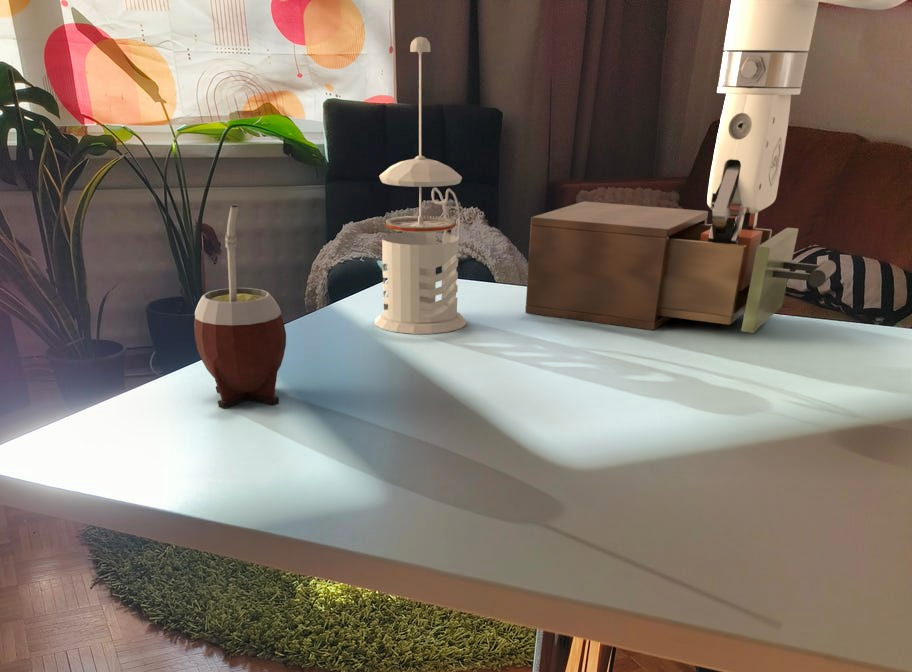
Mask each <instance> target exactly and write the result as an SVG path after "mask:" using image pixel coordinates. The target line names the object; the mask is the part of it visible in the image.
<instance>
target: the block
mask: <svg viewBox="0 0 912 672" xmlns="http://www.w3.org/2000/svg"><path fill="white" fill-rule="evenodd" d="M733 229H734V228H733ZM709 233H710V229H709V230H707V231H705V232H703V233H701V238H700V241H705V242H708V238H709ZM762 233H763V231H757V230H746V229H741V233H740V237H739V241H738V245H746V251H745V256H744V262H743V267H742V272H741V278H740V283H739V289H738V291H742V290H743V289H744V288H746V287H747V286H748V285H750V283H751V277H752V272H753V267H754V262H755V256H756V251H757V247H758V246H759V245H760V243H761V238H762Z"/></svg>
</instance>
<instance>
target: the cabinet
mask: <svg viewBox="0 0 912 672" xmlns="http://www.w3.org/2000/svg"><path fill="white" fill-rule="evenodd" d="M708 215H709V211H708V210H699V209H698V210H697V209H687V208H685V209H684V208H672V207H662V206H661V207H659V206H646V205H633V204H623V203H622V204H621V203H608V202H597V201H581V202H578V203H574V204H571V205H567V206H565V207H560V208H558V209H557V208H556V209H554V210H551V211H548V212H544V213H541V214H538V215H534V216H531V218H530V229H529V230H530V232H529V246H528V247H529V248H528V265H527V278H526V279H527V282H526V298H525V309H524V310H525V313H526V314H532V315H541V316H545V317H546V316H548V317H553V318H554V317H555V318H561V319H568V320H569V319H570V320H575V321H576V320H577V321H584V322H592V323H597V324H598V323H599V324H605V325H612V326H620V327H626V328H634V329H642V330H648V331H655V330H656V329H658V328H659V327H660V326H663V324H665V323H666V322H668V321H670V320H671V319H672V318H673V317H666V316H658V310H659V303H660V296H661V288H662V281H663V274H664V267H665V260H666V253H667V246H668V239H669V238H668V237H669V236H671V235H673V234H675V233H678V232H680V231H682V230H684V229H686V228H688V227H691V226H693V225H695V224H697V223H700V224H708V223H707V222H708Z"/></svg>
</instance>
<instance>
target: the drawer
mask: <svg viewBox="0 0 912 672" xmlns="http://www.w3.org/2000/svg"><path fill="white" fill-rule="evenodd" d="M711 225H712V224H710V223H706V224H700V223H697V224H695V225H693V226H691V227H688V228H686V229H684V230H682V231H680V232H678V233H675V234H673V235H671V236H669V237H668V238H669V239H668V246H667V253H666V260H665V267H664V274H663V281H662V288H661V296H660V303H659V310H658V316H666V317H672V318H676V319H682V320H683V319H684V320H690V321H698V322H705V323H713V324H720V325H729V326H730V325H732V324H733V323H734V322H736V321H737V320H738V319H739V318H740V317H741V316H742V315H743V319H742V326H741V332H745V333H751V334H754V333H755V332H756V331H757V330H758V329H759V328H760V327H761V326H762V325H764V324H765V322H767V321H768V320H769V319H770V318H771V317H772V316H773V315H774V314H775V313H777V312H778V311H779V310H780V308H782V307H783V304H784V301H785V295H786V290H787V284H788V280H796V281H807V282H808V284H809V285H810V287H812V288H820V287H822V286H823V285H824V284H825V283H826V282H827V281H828V280H829V279H830V278H831V277H832V276H833V275H834V274H835V272H836V270H837V265H836V263H835V261H834V260H831V259H827V260H823V262H821V263H820V264H814V263H803V262H795V261H793V257H794V252H795V247H796V244H797V238H798V233H799V228H798V227H797V228H795V227H786V228H784V229H782V230H781V231H780V232H778V233H777V234H774V236H772V234H773V233H772V232H773V230H772V228H771V229H770V228H757V227H756V230H757V231H763V233H762V238H761V243H760V245H759V246H758V247H757V251H756V256H755V262H754V267H753V272H752V277H751V283H750V285H748V286H747V287H746V288H744V289H743V290H742V291H738V289H739V283H740V278H741V272H742V267H743V262H744V256H745V251H746V245H738V244H727V243H716V242H705V241H700V238H701V233H703V232H705V231H707V230H709V229H711ZM791 270H794V271H791ZM800 271H804V272H800Z"/></svg>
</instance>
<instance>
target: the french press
mask: <svg viewBox="0 0 912 672" xmlns="http://www.w3.org/2000/svg"><path fill="white" fill-rule="evenodd" d="M410 52H411V53H417V54H418V155H417V156H415V157H414V158H411V159H406V160H402V161H398V162H397V163H394V164H392V165H391V166H389V167H388V168H387V169H386V170H384V171H383V172H382V173H380V175H379V176H378V177H379V180H380V182H381V183H382V184H385V185H389V186H398V187H413V188H415V187H418V190H419V191H418V193H419V194H418V196H419V198H418V199H419V200H418V202H419V205H418V211H419V215H417V216H416V215H403V216H394V217H391V218H387V219H386V220H385V221H384V224H385V227H386V228H387V229H391V230H394V231H396V233H391V234H387V235H384V236H382V238H381V239H382V241H381V242H382V243H381V244H382V246H381V247H382V248H381V250H382V257H381V258H382V278H383V279H382V289H383V293H382V294H383V311H382V312H380V313H379V315H378V316H377V317H376V318H375V319H374V326H375V327H376V326H377V328H380V329H381V330H385V331H390V332H393V333H400V334H410V335H411V334H412V335H428V334H429V335H433V334H442V333H447V332H448V333H449V332H452V331H456V330H460V329H462V328H464V327H465V326H466V325H467V324H468V323H467V321H466V319H465V318H464V316H463V315H462V314H461V313H460V312H459V311H458V297H457V293H458V291H459V290H458V289H459V288H458V284H457V281H458V279H459V272H458V271H457V268H458V266H459V257H458V253H459V241H460V235H461V212H460V211H461V210H460V206H459V201H458V198H457V196H456V193H455V192H454V191H453V190H452V189H451V188H447V189H446V191H445V199H444V197H443V194H442V192H441V191H440V190H439V188H437V187H448V186H456V185H458V184H460V183H461V182H462V179H463V177H462V175H460V174H459V173H458V172H457V171H455V169H454V168H452V167H450V166H449V165H446V164H444V163H442V162H440V161H438V160H434V159H430V158H427V157H425V156H424V155H422V55H423V53H431V43H430V41H429V40H428V38H427V37H424V36H417V37H414V39H413V40H412V41H411V43H410ZM427 187H428V188H429V187H433V188H432V190H431V200H432V202H433V203H434V204H435V205H442V210H443V214H444V215H443V216H440V215H438V216H437V215H435V216H434V215H433V216H432V215H429V216H428V215H422V188H427ZM435 192H436V193H437V194H438V195H439V198H440V200H441V201H439V200H438V201H437V200H436V199H435ZM449 193H450V194H451V195H452V196H453V199H454V201H455V206H456V211H457V222H456V221H455V219H453V218H449V217H448V215H447V208H446V204H447V203H448V200H449ZM456 225H457V236H455V235H453V234H447V231H450V230H451V229H454V228H455V227H456ZM397 232H399V233H397ZM439 232H443V233H441V234H442V235H441V236H442V237H441V239H442V240H441V243H437V233H439ZM386 266H387V267H386ZM440 267H441V272H439V273H436V271H437V268H440ZM386 280H387V281H386ZM438 282H441V286H439V287H437V286H436V285H437V284H436V283H438ZM386 293H387V295H386ZM385 295H386V296H385ZM440 295H441V299H439V300H437V301H436V297H437V296H440Z"/></svg>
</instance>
